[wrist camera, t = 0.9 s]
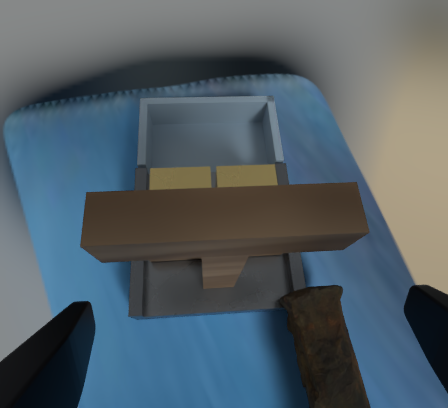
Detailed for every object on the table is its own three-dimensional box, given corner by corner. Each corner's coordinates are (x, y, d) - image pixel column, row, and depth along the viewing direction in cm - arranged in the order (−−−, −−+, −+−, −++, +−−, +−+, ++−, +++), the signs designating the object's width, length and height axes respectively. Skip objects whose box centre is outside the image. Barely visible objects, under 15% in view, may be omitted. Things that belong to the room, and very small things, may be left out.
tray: (275, 178, 27) (283, 159, 24) (144, 182, 26) (137, 164, 23) (267, 118, 29) (273, 95, 27) (146, 121, 29) (140, 98, 26)
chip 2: (273, 233, 23) (282, 219, 20) (218, 236, 23) (219, 222, 20) (267, 183, 25) (274, 164, 22) (215, 185, 24) (216, 166, 21)
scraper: (292, 283, 21) (369, 232, 11) (141, 292, 21) (80, 246, 11) (285, 237, 23) (349, 155, 13) (143, 244, 22) (89, 162, 12)
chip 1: (212, 236, 23) (213, 222, 20) (155, 239, 22) (148, 225, 20) (209, 186, 24) (210, 166, 21) (156, 188, 24) (150, 168, 21)
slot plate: (296, 309, 23) (308, 304, 20) (138, 319, 22) (128, 316, 19) (277, 181, 27) (285, 163, 24) (143, 186, 26) (135, 168, 23)
